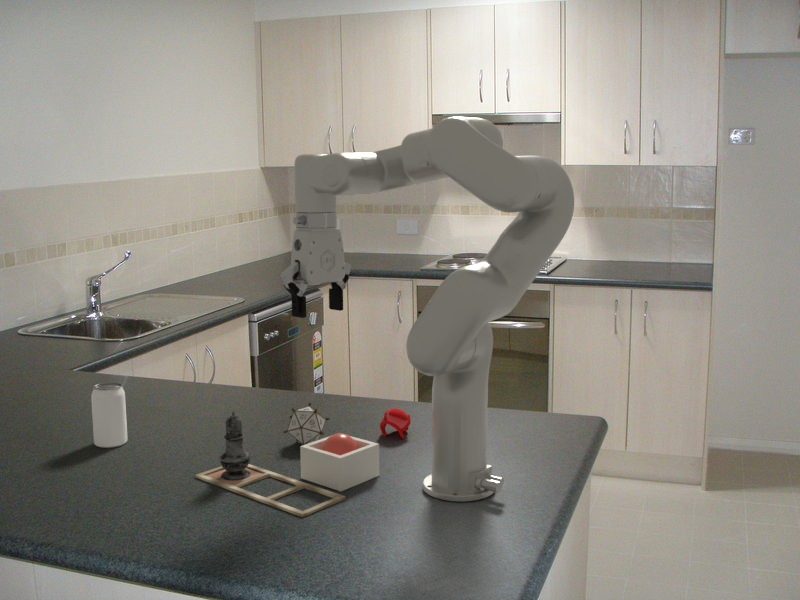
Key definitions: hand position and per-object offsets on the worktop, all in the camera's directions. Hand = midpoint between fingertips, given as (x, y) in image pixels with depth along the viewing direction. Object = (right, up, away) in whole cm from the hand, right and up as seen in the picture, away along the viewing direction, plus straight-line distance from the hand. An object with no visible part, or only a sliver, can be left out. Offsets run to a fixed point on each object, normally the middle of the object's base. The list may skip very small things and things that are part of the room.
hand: (318, 313), depth 166 cm
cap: (+14, -26, +18) cm, 35 cm away
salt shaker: (-15, -30, -5) cm, 33 cm away
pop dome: (+4, -28, -6) cm, 29 cm away
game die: (-3, -27, +13) cm, 30 cm away
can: (-43, -27, +14) cm, 53 cm away
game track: (-8, -30, -11) cm, 33 cm away
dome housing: (+4, -30, -6) cm, 30 cm away
